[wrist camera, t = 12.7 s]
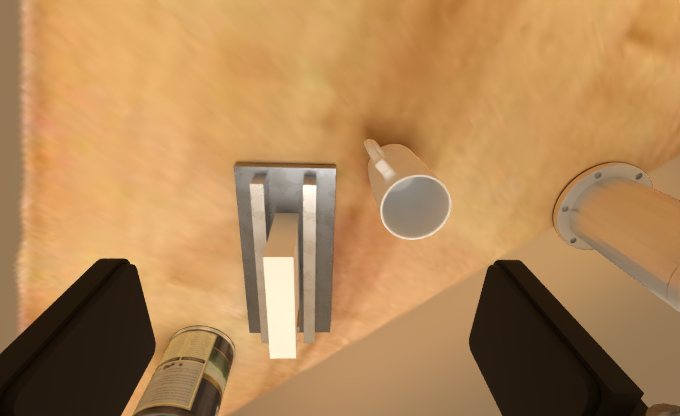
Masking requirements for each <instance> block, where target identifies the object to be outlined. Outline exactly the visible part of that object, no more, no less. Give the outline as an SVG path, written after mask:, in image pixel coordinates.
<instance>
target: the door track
mask: <svg viewBox="0 0 680 416" xmlns="http://www.w3.org/2000/svg"><path fill="white" fill-rule="evenodd" d="M234 173H235V184H236V194H237V205H238V215H239V226H240V236H241V247H242V257H243V268H244V278H245V289H246V299H247V310H248V320H249V331H250V333H261V340H262V343H269V335H268V320H267V306H266V292H265V278H264V264H263V256H264V252H265V248H266V245H267V241H268V237H269V234H270V230H271V226H272V223H273V219H274V215H275V213H299V234H300V294H301V302H300V309H301V316H300V330H299V332H304V343H314V341H315V332H330V318H331V290H332V263H333V236H334V209H335V182H336V165H322V164H278V163H236V164H235V166H234Z"/></svg>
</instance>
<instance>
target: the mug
mask: <svg viewBox="0 0 680 416" xmlns="http://www.w3.org/2000/svg"><path fill="white" fill-rule="evenodd" d="M364 146H365V148H366V150H367V152H368V154H369V156H370V160H369V163H368V176H369V179H370V183H371V186H372V190H373V193H374V196H375V200H376V203H377V207H378V210H379V213H380V216H381V220H382V222H383V224H384V226H385V227H386V229H387V230H388V231H389V232H391V233H392V234H393V235H395V236H397V237H399V238H403V239H408V240H416V239H422V238H425V237H428V236H430V235H432V234H434V233H435V232H437V231H438V230H439V229H440V228H441V227H442V226H443V225H444V224H445V222H446V221H447V219H448V217H449V214H450V211H451V196H450V193H449V191H448V189H447V187H446V186H445V185H444V184H443V183H442V182H441V180H440V179H439V178H438V177H437V176H436V175H435V174H434V173H433V172H432V171H431V170H430V169H429V168H428V167H427V166H426V165H425V164H424V163H423V162H422V161H421V160H420V159H419V158H418V157H417V156H416V155H415V154H414V153H413V152H412V151H411V150H410V149H409V148H407V147H406V146H404V145H401V144H388V145H385V146H382V147H380V146H379V145H378V144H377V142H376V141H375V140H373V139H367V140H365V141H364Z"/></svg>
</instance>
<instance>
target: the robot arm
mask: <svg viewBox="0 0 680 416" xmlns="http://www.w3.org/2000/svg"><path fill="white" fill-rule="evenodd" d="M553 224H554V227H555V231H556V232H557V234H558V236H559V237H560V238H561V239H562V240H563V241H565V242H566V243H567V244H569V245H570V246H573V247H575V248H578V249H583V250H593V249H595V250H597V251H598V252H599V253H601V254H602V255H603V256H605V257H606V258H607V259H609V260H610V261H611V262H613V263H614V264H615V265H617V266H618V267H619V268H621V269H622V270H623V271H625V272H626V273H627V274H629V275H630V276H631V277H633V278H634V279H635V280H637V281H638V282H639V283H641V284H642V285H643V286H645V287H646V288H647V289H649V290H650V291H651V292H653V293H654V294H655V295H657V296H658V297H659V298H661V299H662V300H664V301H665V302H666V303H668V304H669V305H671V306H672V307H673V308H674V309H676V310H677V311H678V312H680V200H678V199H676V198H673V197H671V196H669V195H666V194H664V193H662V192H659V191H657V190H654V189H653V187H652V183H651V180H650V178H649V177H648V175H647V174H646V173H645V172H644V171H642V170H641V169H640V168H638V167H635V166H633V165H630V164H626V163H621V162H612V163H606V164H602V165H599V166H596V167H593V168H591V169H589V170H587V171H585V172H584V173H582V174H581V175H579V176H578V177H576V178H575V179H574V180H573V181H572V182H571V183H570V184H569V185H568V186H567V187H566V189H565V190H564V191H563V192H562V194H561V196H560V197H559V199H558V201H557V204H556V206H555V209H554V215H553ZM469 346H470V350H471V352H472V355H473V357H474V359H475V361H476V363H477V364H478V367H479V369H480V371H481V373H482V375H483V376H484V379H485V381H486V383H487V385H488V387H489V389H490V391H491V393H492V395H493V397H494V399H495V401H496V404H497V406H498V408H499V410H500V412H501V414H502V416H680V407H679V406H677V405H670V404H665V403H662V404H654V405H652V406H651V407H650V408H648V407H647V406H646V405H645V403H644V402H643V401H642V400H641V397H642V396H643V394H644V393H643V392H642V391H641V390H640V388H639V387H637V385H636V384H635V383H634V382H633V381H632V380H631V379H630V378H629V377H628V375H627V374H626V373H624V371H623V370H622V369H621V368H620V367H619V366H618V365H617V364H616V363H615V361H614V360H613V359H612V358H611V357H610V356H609V355H608V354H607V353H606V352H605V351H604V350H603V349H602V347H601V346H600V345H598V343H597V342H596V341H595V340H594V339H593V338H592V337H591V336H590V335H589V333H588V332H587V331H586V330H585V329H584V328H583V327H582V326H581V325H580V324H579V323H578V322H577V321H576V319H575V318H573V316H572V315H571V314H570V313H569V312H568V311H567V310H566V309H565V308H564V307H563V306H562V304H561V303H560V302H559V301H558V300H557V299H556V298H555V297H554V296H553V295H552V294H551V293H550V292H549V290H548V289H547V288H546V287H545V286H544V285H543V284H542V283H541V282H540V281H539V280H538V279H537V278H536V276H535V275H534V274H533V273H532V272H531V271H530V270H529V269H528V268H527V267H526V266H525V265H524V264H523V263H522V262H521V261H520V260H497V261H495V263H494V264H493V265H491V266H489V267H488V269H487V273H486V277H485V281H484V284H483V288H482V292H481V295H480V300H479V303H478V307H477V310H476V314H475V318H474V322H473V326H472V329H471V333H470V337H469ZM155 347H156V342H155V337H154V334H153V330H152V326H151V322H150V318H149V314H148V310H147V306H146V302H145V298H144V295H143V291H142V287H141V283H140V279H139V275H138V271H137V268H136V266H135V265H133V264H130V262H129V261H128V260H127V259H99V260H98V261H96V262H95V263H94V264H93V265H92V266H91V267H90V268H89V269H88V270H87V271H86V272H85V273H84V274H83V275H82V276H81V277H80V278H79V279H78V280H77V281H76V282H75V283H74V284H73V285H71V286H70V287H69V288H68V289H67V290H66V291H65V292H64V293H63V294H62V295H61V296H60V297H59V298H58V299H57V300H56V301H55V302H54V303H53V304H52V305H51V306H50V307H49V308H48V309H47V310H46V311H44V312H43V313H42V314H41V315H40V316H39V317H38V318H37V319H36V320H35V321H34V322H33V323H32V324H31V325H30V326H29V327H28V328H27V329H26V330H25V331H24V332H23V333H22V334H21V335H20V336H18V337H17V338H16V339H15V340H14V341H13V342H12V343H11V344H10V345H9V346H8V347H7V348H6V349H5V350H4V351H3V352H2V353H1V354H0V416H121V414H122V413H123V411H124V409H125V407H126V405H127V403H128V401H129V400H130V398H131V396H132V394H133V392H134V390H135V388H136V387H137V385H138V383H139V381H140V379H141V377H142V376H143V374H144V372H145V370H146V368H147V366H148V364H149V363H150V361H151V359H152V357H153V355H154V352H155Z"/></svg>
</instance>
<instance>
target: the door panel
mask: <svg viewBox="0 0 680 416" xmlns="http://www.w3.org/2000/svg"><path fill="white" fill-rule="evenodd" d="M263 264H264V278H265V292H266V306H267V320H268V335H269V349H270V358H296V352H297V340H298V332H299V330H300V316H301V309H300V302H301V294H300V234H299V213H275V215H274V219H273V223H272V226H271V230H270V234H269V237H268V241H267V245H266V248H265V252H264V256H263Z"/></svg>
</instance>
